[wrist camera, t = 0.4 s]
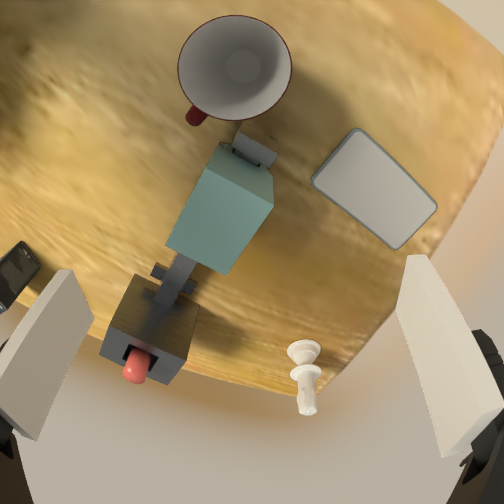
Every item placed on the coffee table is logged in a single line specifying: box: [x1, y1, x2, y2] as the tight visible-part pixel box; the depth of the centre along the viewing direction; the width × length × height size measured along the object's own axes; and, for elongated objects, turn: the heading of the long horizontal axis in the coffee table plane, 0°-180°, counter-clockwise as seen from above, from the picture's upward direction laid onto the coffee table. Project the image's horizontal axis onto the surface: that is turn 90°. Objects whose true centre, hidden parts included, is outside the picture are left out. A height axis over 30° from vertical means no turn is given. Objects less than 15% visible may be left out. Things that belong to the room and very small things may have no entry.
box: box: [0, 241, 41, 314], centre depth 38 cm, size 8×6×11 cm
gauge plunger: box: [123, 348, 152, 384], centre depth 36 cm, size 3×3×4 cm
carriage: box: [165, 142, 274, 276], centre depth 30 cm, size 6×8×9 cm
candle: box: [287, 339, 322, 416], centre depth 44 cm, size 5×5×12 cm
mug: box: [177, 15, 292, 127], centre depth 24 cm, size 10×8×10 cm
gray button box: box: [99, 274, 199, 385], centre depth 41 cm, size 10×7×10 cm
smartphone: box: [311, 128, 437, 250], centre depth 35 cm, size 8×1×15 cm
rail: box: [150, 122, 278, 308], centre depth 36 cm, size 6×24×5 cm, turn 150°
